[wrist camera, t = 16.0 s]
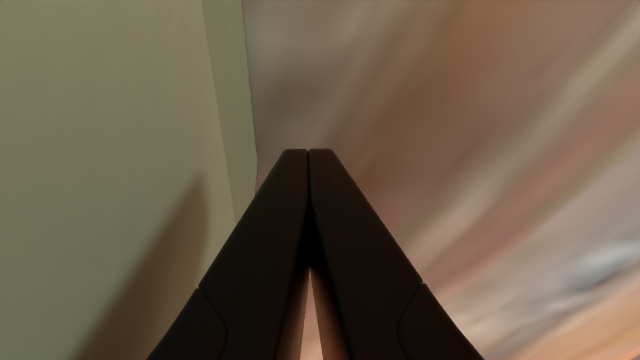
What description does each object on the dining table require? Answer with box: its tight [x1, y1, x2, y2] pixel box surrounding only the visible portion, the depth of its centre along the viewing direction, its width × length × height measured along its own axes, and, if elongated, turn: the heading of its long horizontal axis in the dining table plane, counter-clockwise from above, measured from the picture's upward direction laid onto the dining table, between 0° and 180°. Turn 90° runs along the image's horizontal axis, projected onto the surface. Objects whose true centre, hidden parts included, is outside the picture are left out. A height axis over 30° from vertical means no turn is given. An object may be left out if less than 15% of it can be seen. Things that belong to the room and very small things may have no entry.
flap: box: [0, 0, 236, 360], centre depth 8 cm, size 14×6×1 cm
